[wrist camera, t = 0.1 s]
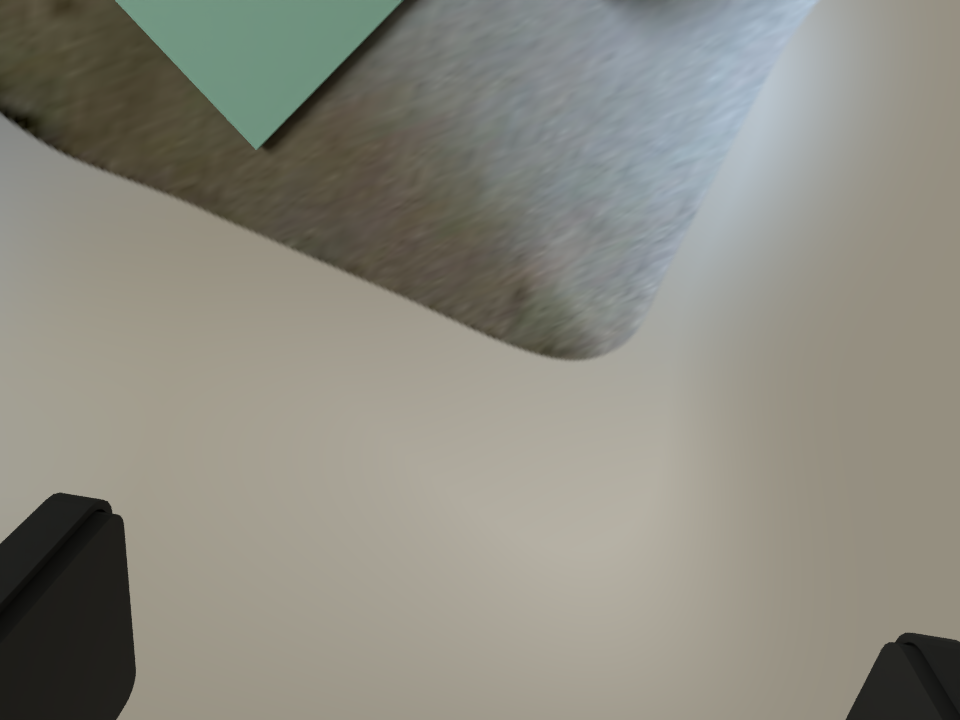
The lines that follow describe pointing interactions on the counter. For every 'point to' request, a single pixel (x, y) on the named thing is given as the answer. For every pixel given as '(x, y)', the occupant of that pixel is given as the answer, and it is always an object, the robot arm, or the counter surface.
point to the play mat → (258, 50)
